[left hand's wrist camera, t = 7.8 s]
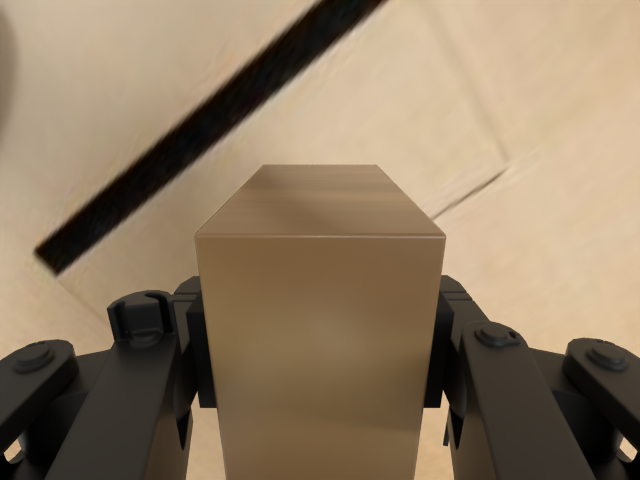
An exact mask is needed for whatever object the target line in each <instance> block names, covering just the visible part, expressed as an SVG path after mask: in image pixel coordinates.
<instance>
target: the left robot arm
mask: <svg viewBox="0 0 640 480" xmlns="http://www.w3.org/2000/svg"><path fill="white" fill-rule="evenodd" d="M107 312H108V316H109V320H110V324H111V328H112V332H113V337H114V341H115V342H114V344H113V346H112V348H111V349H109V350H105V351H101V352H96V353H91V354H85V355H80V356H76V355H75V352H74V348H73V345H72V344H71V343H69V342H68V341H65V340H58V339H57V340H47V341H46V340H45V341H39V342H38V343H36V342H35V343H32V344H29V345H27V346H26V347H23V348H21V349H19V350H16V351H14V352H13V353H11V354H10V355H8V356H7V357H5V358H3V359H2V360H1V361H0V480H186V473H187V465H188V457H189V450H190V442H191V434H192V426H193V417H192V411H191V404H192V402H193V400H194V397H195V395H196V393H197V391H198V398H199V404H200V408H217V405H216V397H215V390H214V382H213V375H212V367H211V359H210V352H209V344H208V336H207V329H206V321H205V313H204V306H203V298H202V291H201V283H200V276H193V277H192V278H190V279H188V280H187V281H185V282H183V283H182V284H180V286H179V287H178V288H177V290H176V291H175V292H174V295H171V294H169V293H168V292H164V291H160V290H147V291H141V292H136V293H132V294H130V295H127V296H124V297H122V298H120V299H118V300H116V301H114V302H113V303H112V304H111V305H110V306H109V307H108V308H107ZM443 390H444V393H445V395H446V397H447V399H448V402H449V404H450V405H449V411H448V417H447V423H446V429H445V435H444V442H443V445H444V446H448V443H449V441H450V449H451V457H452V464H453V472H454V480H640V358H639V357H637V356H636V355H634V354H632V353H631V352H629V351H628V350H626V349H624V348H621V347H619V346H617V345H615V344H614V343H611V342H608V341H603V340H600V339H590V338H579V339H573V340H572V341H571V342H569V343H568V346H567V349H566V353H565V355H563V354H558V353H553V352H548V351H542V350H537V349H533V348H529V347H528V345H527V343H526V341H525V340H524V339H523V337H522V336H521V335H520V334H519V333H518V332H516V331H514V330H513V329H511V328H510V327H507V326H505V325H502V324H500V323H496V322H491V321H490V320H489V319H488V318H487V317H486V315H485V314H484V313H483V312H482V310H481V309H480V308H479V307H478V305H477V304H476V303H475V302H474V301H472V298H471V297H470V295H469V294H468V293H467V291H466V290H465V289H464V288H463V286H462V285H461V284H460V283H459V282H457V281H456V280H454V279H452V278H451V277H449V276H447V275H441V280H440V287H439V295H438V302H437V310H436V317H435V325H434V332H433V340H432V347H431V355H430V362H429V370H428V377H427V385H426V392H425V400H424V407H423V408H440V406H441V399H442V393H443ZM623 437H625V438H626V439H627V440H628V441H629V443H630V444H631V445H632V446H633V447H634V448H635V449H636V450H637V451H638V452H637V454H636V456H635V459H634V460H631V459H630V458H629V457H628V456H626V455H625V454H624V452H623V451H622V450H621V449H620V448H619V447H620V445H621V442H622V440H623ZM16 439H18V441H19V444H20V446H21V450H20V452H19V453H18V454H17V455H16V456H15V457H14V458H13V459H11V460H10V461H9V462H8V461H7V460H6V458H5V456H4V452H5V451H6V450H7V449H8V448H9V447H10V446H11V445H12V443H13V442H14V441H15V440H16Z"/></svg>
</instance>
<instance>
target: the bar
mask: <svg viewBox="0 0 640 480" xmlns="http://www.w3.org/2000/svg"><path fill="white" fill-rule="evenodd" d="M445 242H446V235H445V233H444V232H443V231H442V230H441V229H440V228H439V227H438V226H437V225H436V224H435V223H434V222H433V221H432V220H431V219H430V218H429V217H428V216H427V215H426V214H425V213H424V212H423V211H422V210H421V209H420V208H419V207H418V206H417V205H416V204H415V203H414V202H413V201H412V200H411V199H410V198H409V197H408V196H407V195H406V194H405V193H404V192H403V191H402V190H401V189H400V188H399V187H398V186H397V185H396V184H395V183H394V182H393V181H392V180H391V179H390V178H389V177H388V176H387V175H386V174H385V173H384V172H383V171H382V170H381V169H380V168H379V167H378V166H377V165H263V166H262V167H261V168H260V169H259V170H258V171H257V172H256V173H255V174H254V175H253V176H252V177H251V178H250V179H249V180H248V181H247V182H246V183H245V184H244V185H243V186H242V187H241V188H240V189H239V190H238V191H237V192H236V193H235V194H234V195H233V196H232V197H231V198H230V199H229V200H228V201H227V202H226V203H225V204H224V205H223V206H222V207H221V208H220V209H219V210H218V211H217V212H216V213H215V215H214V216H213V217H212V218H211V219H210V220H209V221H208V222H207V223H206V224H205V225H204V226H203V227H202V228H201V229H200V230H199V231H198V232H197V233H196V234H195V245H196V252H197V260H198V268H199V275H200V283H201V291H202V298H203V306H204V313H205V321H206V329H207V336H208V344H209V352H210V359H211V367H212V375H213V382H214V390H215V397H216V405H217V413H218V420H219V428H220V436H221V443H222V451H223V458H224V466H225V474H226V480H414V475H415V468H416V460H417V453H418V445H419V437H420V430H421V422H422V415H423V407H424V400H425V392H426V385H427V377H428V370H429V362H430V355H431V347H432V340H433V332H434V325H435V317H436V310H437V302H438V295H439V287H440V280H441V272H442V265H443V257H444V250H445Z"/></svg>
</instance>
